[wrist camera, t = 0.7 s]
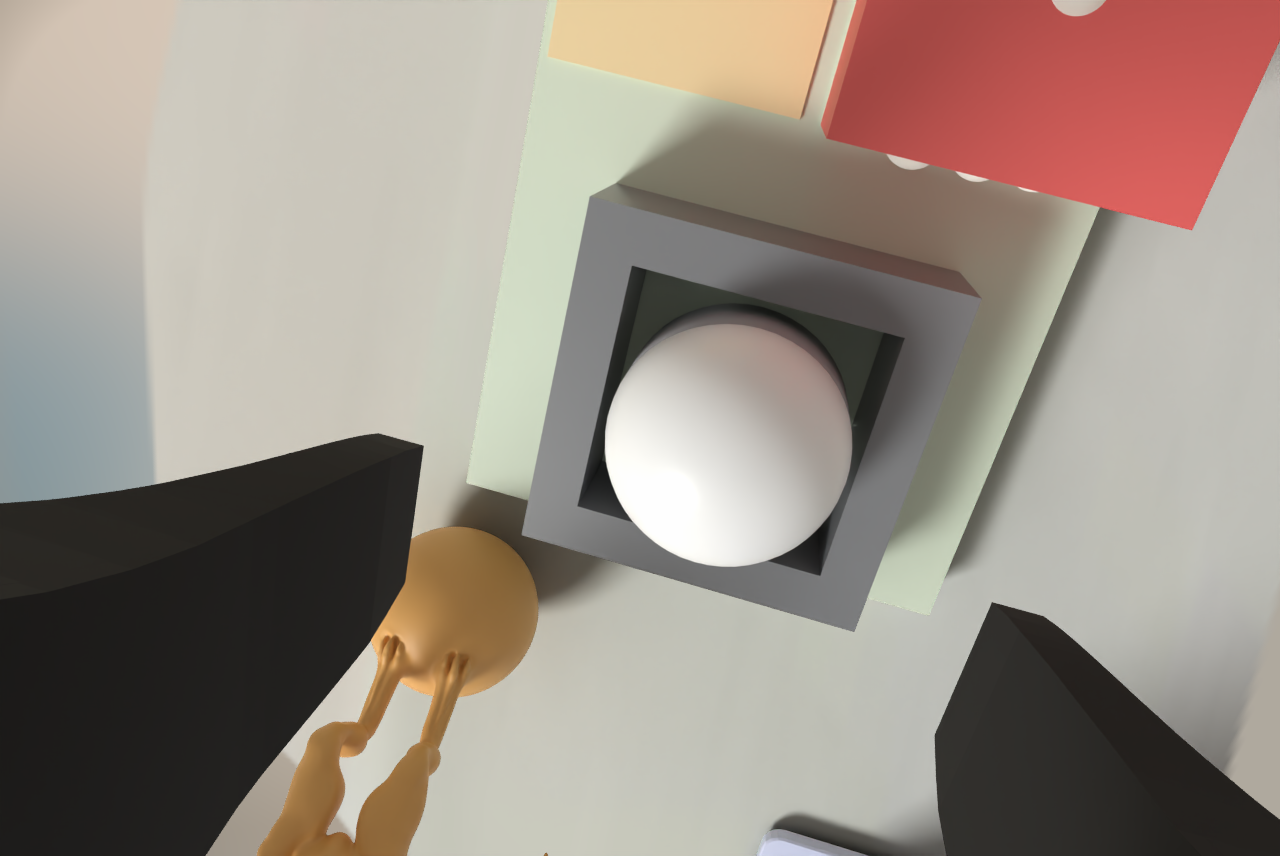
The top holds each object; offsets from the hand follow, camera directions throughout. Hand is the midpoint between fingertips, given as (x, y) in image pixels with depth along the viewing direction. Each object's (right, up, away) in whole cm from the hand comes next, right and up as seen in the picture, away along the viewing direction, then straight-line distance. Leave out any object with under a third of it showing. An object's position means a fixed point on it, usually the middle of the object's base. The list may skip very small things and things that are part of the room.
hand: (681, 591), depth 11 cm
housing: (+2, +3, +8) cm, 9 cm away
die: (+6, +9, +5) cm, 12 cm away
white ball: (+1, +2, +7) cm, 8 cm away
